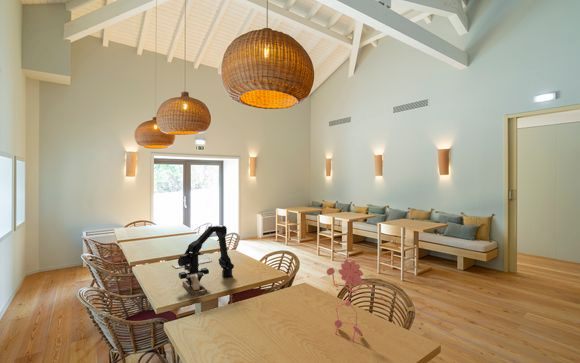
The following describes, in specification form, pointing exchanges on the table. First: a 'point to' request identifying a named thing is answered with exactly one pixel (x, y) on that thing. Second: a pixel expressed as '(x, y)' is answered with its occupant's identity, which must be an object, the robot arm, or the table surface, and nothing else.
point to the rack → (192, 292)
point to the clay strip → (194, 282)
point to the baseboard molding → (198, 263)
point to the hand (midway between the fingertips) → (194, 285)
